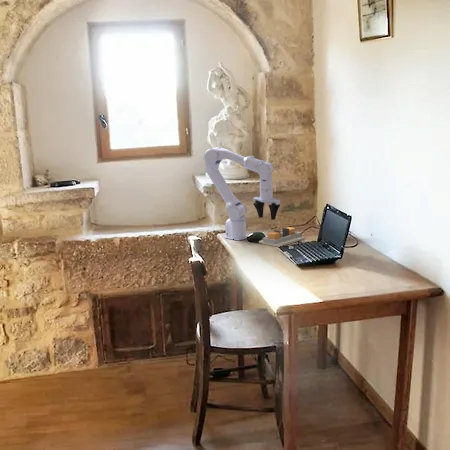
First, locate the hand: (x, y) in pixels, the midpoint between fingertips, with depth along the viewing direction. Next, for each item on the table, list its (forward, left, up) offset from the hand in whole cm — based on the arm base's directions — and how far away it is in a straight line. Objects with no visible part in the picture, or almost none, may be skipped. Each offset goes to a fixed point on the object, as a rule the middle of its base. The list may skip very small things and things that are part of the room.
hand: (267, 218), depth 272 cm
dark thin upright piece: (+21, +15, -10) cm, 28 cm away
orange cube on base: (+7, -3, -9) cm, 12 cm away
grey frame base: (+7, +2, -10) cm, 12 cm away
